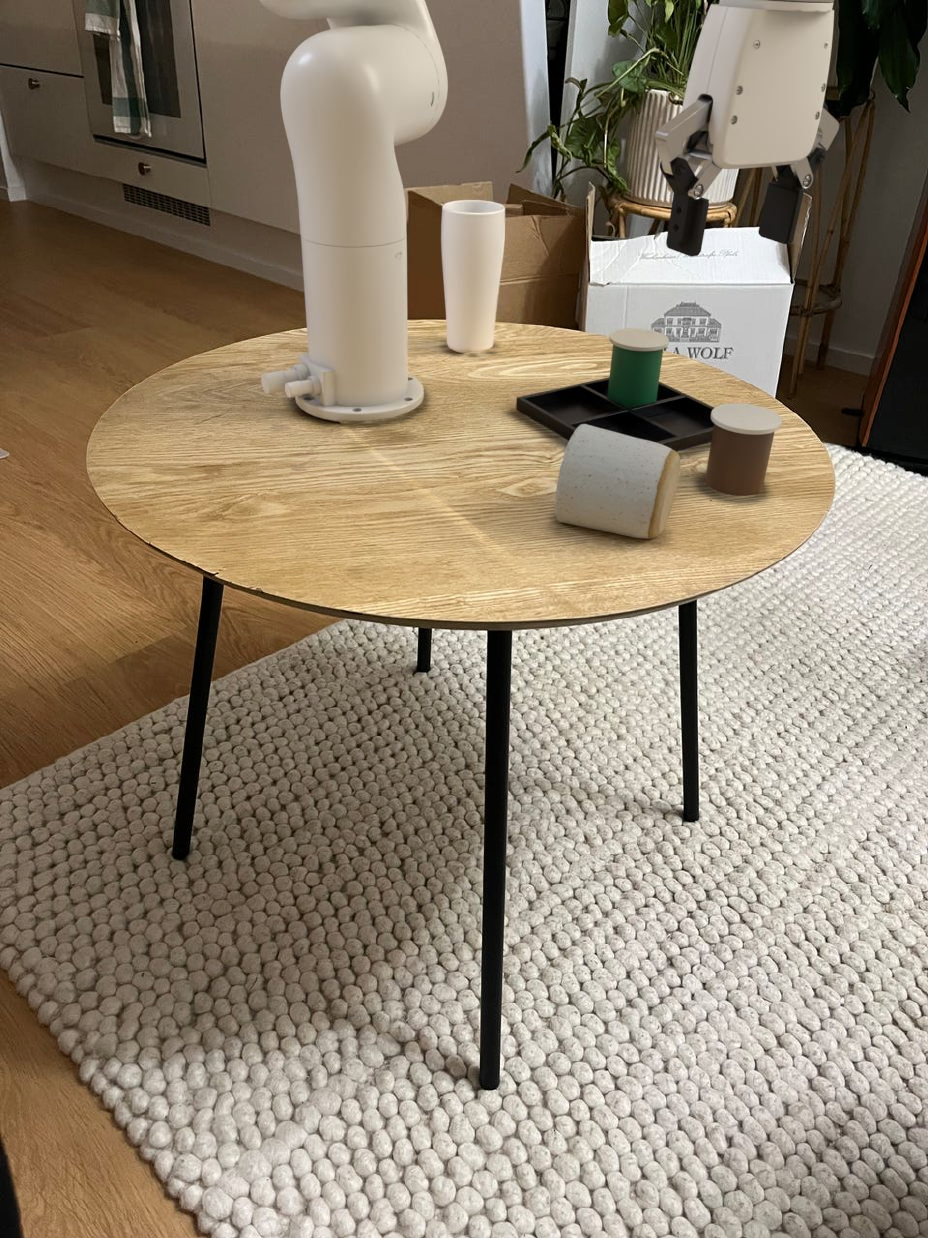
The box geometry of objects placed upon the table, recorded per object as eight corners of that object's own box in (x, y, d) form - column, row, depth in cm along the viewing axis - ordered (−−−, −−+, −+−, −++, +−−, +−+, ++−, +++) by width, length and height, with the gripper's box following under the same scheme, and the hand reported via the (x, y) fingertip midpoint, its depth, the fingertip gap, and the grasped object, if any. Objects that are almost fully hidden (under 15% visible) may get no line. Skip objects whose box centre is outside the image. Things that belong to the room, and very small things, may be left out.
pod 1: (627, 416, 95) (635, 350, 92) (591, 397, 99) (597, 333, 96) (671, 405, 98) (681, 341, 94) (634, 387, 102) (642, 324, 98)
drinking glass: (502, 339, 115) (508, 200, 106) (497, 359, 109) (504, 214, 101) (443, 336, 115) (445, 198, 107) (436, 355, 110) (437, 211, 101)
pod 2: (732, 508, 81) (747, 435, 77) (685, 482, 85) (696, 410, 81) (781, 493, 83) (797, 421, 80) (732, 468, 87) (745, 398, 84)
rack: (615, 473, 86) (617, 455, 85) (515, 413, 96) (516, 397, 95) (741, 438, 93) (744, 421, 92) (635, 386, 103) (637, 370, 102)
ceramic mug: (655, 559, 74) (670, 463, 69) (549, 538, 76) (557, 443, 72) (682, 501, 82) (696, 412, 78) (585, 483, 84) (594, 396, 80)
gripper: (824, -18, 74) (773, 225, 83) (644, -24, 66) (611, 244, 76) (908, -11, 68) (844, 247, 78) (724, -18, 61) (677, 270, 70)
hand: (729, 245), depth 77 cm, fingers open, 9 cm apart
